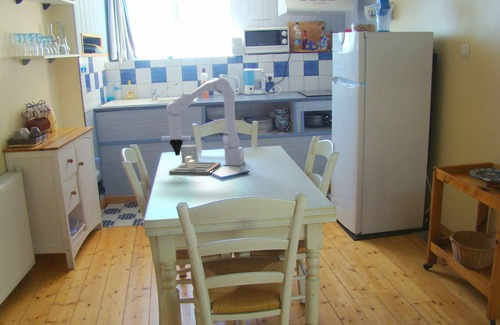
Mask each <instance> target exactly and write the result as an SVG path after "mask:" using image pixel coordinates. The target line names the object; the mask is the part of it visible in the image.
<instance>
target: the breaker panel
mask: <svg viewBox="0 0 500 325" xmlns="http://www.w3.org/2000/svg"><path fill="white" fill-rule="evenodd" d="M221 164H222V163H221V162H215V161H197V162H196V168H195V169H188V164H185V162H181V163H180V164H179V165H177V166H175V167H174V168H172V169H171V170H169V172H168V175H176V176H177V175H178V176H179V175H183V176H184V175H185V176H189V175H190V176H210V174H211V173H210V171H212V170H214V169H216V168H217V169H218V168H219V167H221V166H222V165H221ZM217 169H216V170H217ZM214 171H215V170H214Z"/></svg>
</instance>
